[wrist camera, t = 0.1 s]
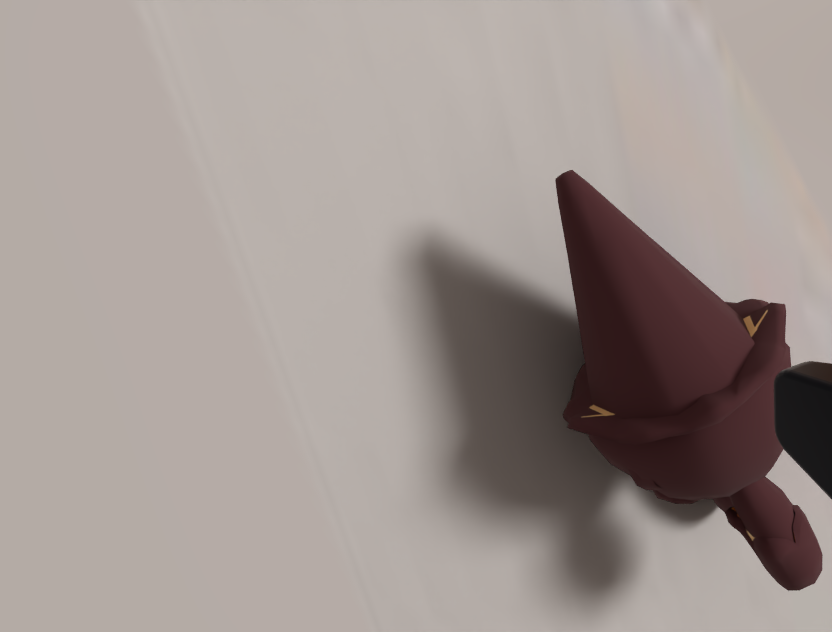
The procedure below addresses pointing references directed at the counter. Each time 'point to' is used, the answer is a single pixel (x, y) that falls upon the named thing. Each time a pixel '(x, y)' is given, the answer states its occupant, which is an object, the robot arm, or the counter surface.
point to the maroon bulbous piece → (680, 381)
